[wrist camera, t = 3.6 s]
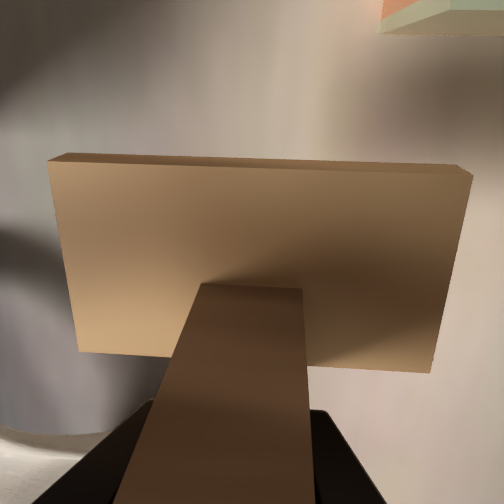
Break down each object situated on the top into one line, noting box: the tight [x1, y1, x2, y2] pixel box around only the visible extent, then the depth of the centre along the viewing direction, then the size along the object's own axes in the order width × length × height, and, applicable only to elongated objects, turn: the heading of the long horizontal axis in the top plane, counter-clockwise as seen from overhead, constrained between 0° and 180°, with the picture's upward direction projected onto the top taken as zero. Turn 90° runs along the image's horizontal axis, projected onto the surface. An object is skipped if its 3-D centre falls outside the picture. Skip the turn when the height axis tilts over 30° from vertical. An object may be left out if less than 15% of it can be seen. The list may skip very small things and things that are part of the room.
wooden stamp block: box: [47, 153, 473, 504], centre depth 7 cm, size 5×9×9 cm, turn 89°
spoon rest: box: [0, 424, 112, 504], centre depth 22 cm, size 24×12×7 cm, turn 38°
